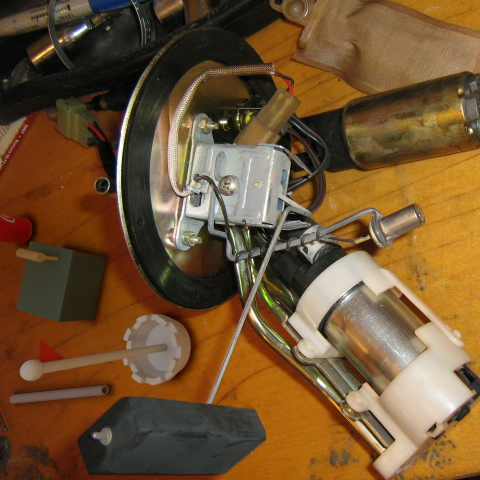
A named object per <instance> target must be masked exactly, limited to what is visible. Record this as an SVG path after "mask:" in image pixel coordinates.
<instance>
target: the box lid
mask: <svg viewBox="0 0 480 480" xmlns="http://www.w3.org/2000/svg"><path fill="white" fill-rule="evenodd" d="M76 251H77V250H76V249H75V250H74V249H70V248H66V247H62V246H57V245H52V244H49V243H43V242H39V241H34V240H29V243H28V248H27V249H26V248H23V247H22V248H18V249H17V250H16V251H15V256H16V257H17V258H21V259H23V260H25V264H24V268H23V274H22V280H21V285H20V288H19V294H18V299H17V304H16V310H17V311H21V312H24V313H27V314H31V315H33V316H37V317H40V318H42V319H43V318H44V319H46V320H49V321H53V322H56V323H63V322H62V319H63V314H64V309H65V304H66V299H67V294H68V289H69V284H70V278H71V273H72V268H73V263H74V258H75V253H76Z"/></svg>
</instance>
